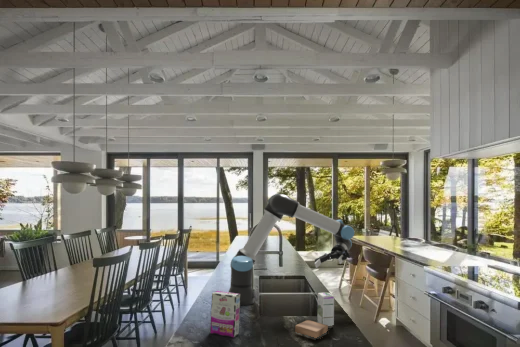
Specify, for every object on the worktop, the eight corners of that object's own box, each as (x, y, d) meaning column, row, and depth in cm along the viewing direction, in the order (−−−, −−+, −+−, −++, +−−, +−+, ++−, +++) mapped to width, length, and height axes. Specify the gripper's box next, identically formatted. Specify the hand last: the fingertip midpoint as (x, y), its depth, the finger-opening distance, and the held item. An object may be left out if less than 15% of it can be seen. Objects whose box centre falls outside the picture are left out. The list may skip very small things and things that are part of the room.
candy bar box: (239, 334, 150) (241, 293, 151) (234, 338, 146) (236, 296, 147) (215, 329, 154) (217, 290, 155) (209, 333, 150) (211, 292, 151)
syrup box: (334, 328, 161) (335, 295, 162) (322, 329, 159) (323, 295, 160) (328, 324, 166) (329, 292, 167) (316, 325, 165) (317, 292, 166)
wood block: (307, 329, 160) (307, 319, 161) (327, 335, 154) (328, 325, 154) (295, 335, 153) (295, 325, 153) (315, 341, 146) (316, 331, 147)
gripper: (362, 253, 203) (352, 266, 184) (321, 260, 215) (308, 273, 197) (357, 240, 203) (347, 252, 184) (317, 248, 215) (304, 260, 197)
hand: (327, 263), depth 190 cm, fingers open, 13 cm apart
